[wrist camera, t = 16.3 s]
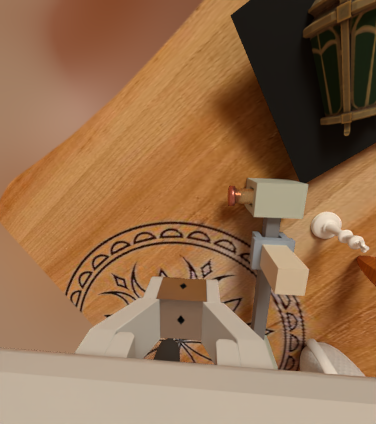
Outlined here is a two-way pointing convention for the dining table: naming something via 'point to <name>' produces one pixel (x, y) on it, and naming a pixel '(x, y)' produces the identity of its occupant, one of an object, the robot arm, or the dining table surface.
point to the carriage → (279, 263)
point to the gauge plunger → (239, 196)
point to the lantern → (315, 75)
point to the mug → (326, 360)
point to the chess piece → (335, 231)
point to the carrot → (368, 267)
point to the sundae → (168, 351)
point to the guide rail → (272, 234)
